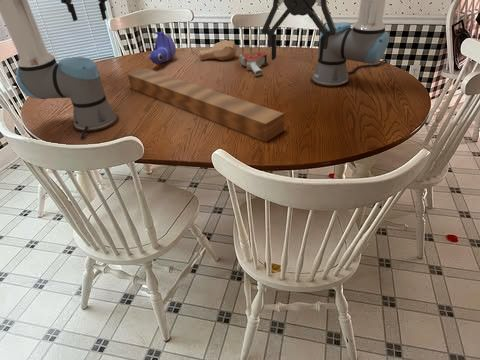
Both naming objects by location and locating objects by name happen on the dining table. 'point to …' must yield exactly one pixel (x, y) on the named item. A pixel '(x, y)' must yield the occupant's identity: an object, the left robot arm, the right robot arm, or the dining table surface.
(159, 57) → the toy
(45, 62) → the left robot arm
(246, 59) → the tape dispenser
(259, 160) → the dining table surface
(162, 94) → the slab
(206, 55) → the squash
